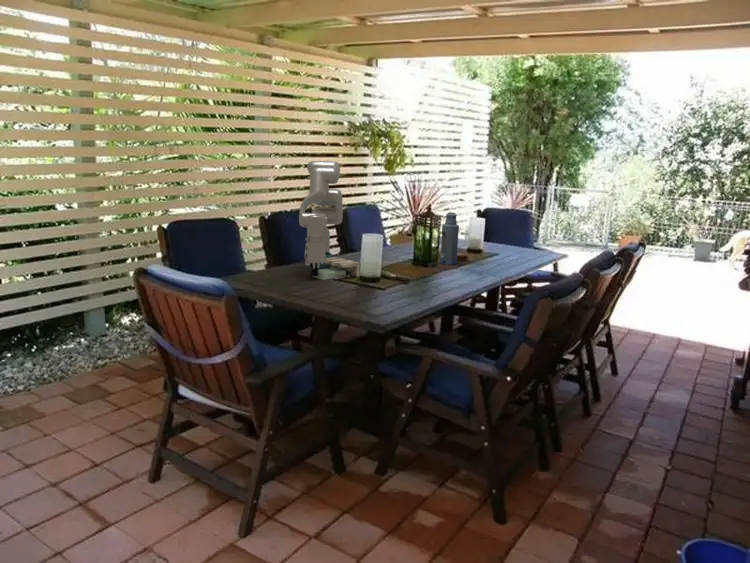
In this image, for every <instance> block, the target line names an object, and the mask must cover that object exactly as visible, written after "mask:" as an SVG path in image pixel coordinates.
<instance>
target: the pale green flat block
mask: <svg viewBox="0 0 750 563" xmlns="http://www.w3.org/2000/svg"><path fill="white" fill-rule="evenodd" d="M344 275H346V271H344V270H341V269H337V268H334V267H330V268H329V269H321V270H318V276H312V275H311V277H312V278H313V277H314V278H316V279H319V280H323V281H324V280H331V279H334V277H337V276H344Z"/></svg>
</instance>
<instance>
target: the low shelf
mask: <svg viewBox="0 0 750 563" xmlns="http://www.w3.org/2000/svg"><path fill="white" fill-rule="evenodd" d="M324 263H327V264H331V266H333V268H337V269H341V270H344V271H346V275H344V276H337V277H334V278H333V279H334V280H339V278H340V279H346V278H345V277H347V278H351V277H354V276H359V277H360V272H361V271H360V266H361V263H360V262H358V261H355V260H352V259H347V258H342V257H338V256H332V257H331V258H326V259H325V261H324ZM351 275H352V276H351ZM350 276H351V277H350Z"/></svg>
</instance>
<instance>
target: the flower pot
mask: <svg viewBox="0 0 750 563" xmlns="http://www.w3.org/2000/svg"><path fill="white" fill-rule="evenodd" d="M325 256H326V258H331V257H334V256H333V254H332V253H331V252H330V253H329V252H325ZM331 266H332V265H331V264H327V263H323V264H321V265H320V266H319V268H318V270H321V269H329V268H332V267H331Z"/></svg>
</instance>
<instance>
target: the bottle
mask: <svg viewBox="0 0 750 563" xmlns="http://www.w3.org/2000/svg"><path fill="white" fill-rule="evenodd" d="M441 226H442V227H441V246H440V247H441V248H440V260H439V263H440V264H441V265H445V266H447V265H448V266H452V265H453V266H454V265H457V263H458V261H457V260H458V244H459V232H460V231H459V230H460V225H459V224H457V213H455V212H451V211H450V212H447V213H446V215H445V223H443V224H442V225H441Z"/></svg>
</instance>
